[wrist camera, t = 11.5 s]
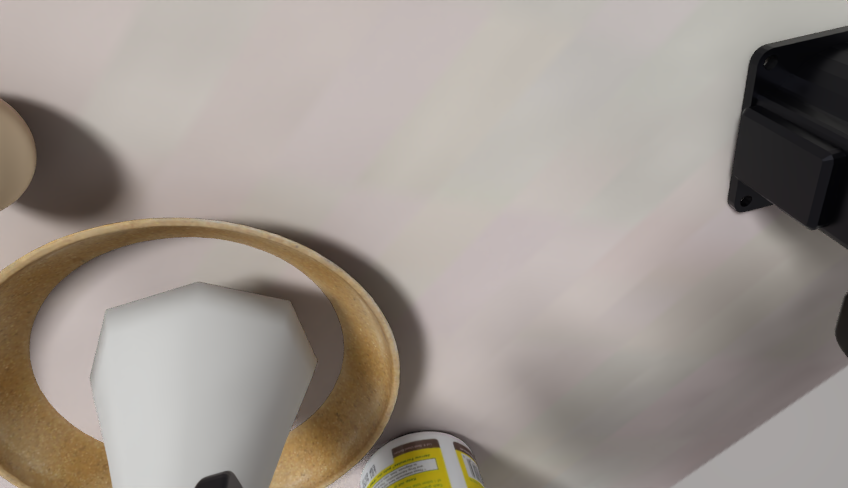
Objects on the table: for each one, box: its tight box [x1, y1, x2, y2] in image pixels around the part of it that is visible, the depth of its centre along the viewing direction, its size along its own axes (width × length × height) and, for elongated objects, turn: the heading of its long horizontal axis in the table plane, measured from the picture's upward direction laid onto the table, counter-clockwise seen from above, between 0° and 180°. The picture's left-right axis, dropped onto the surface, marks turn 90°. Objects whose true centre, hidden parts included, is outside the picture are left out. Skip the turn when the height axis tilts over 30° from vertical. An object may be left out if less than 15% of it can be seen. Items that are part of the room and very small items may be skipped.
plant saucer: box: [0, 218, 400, 488], centre depth 23 cm, size 15×15×3 cm
